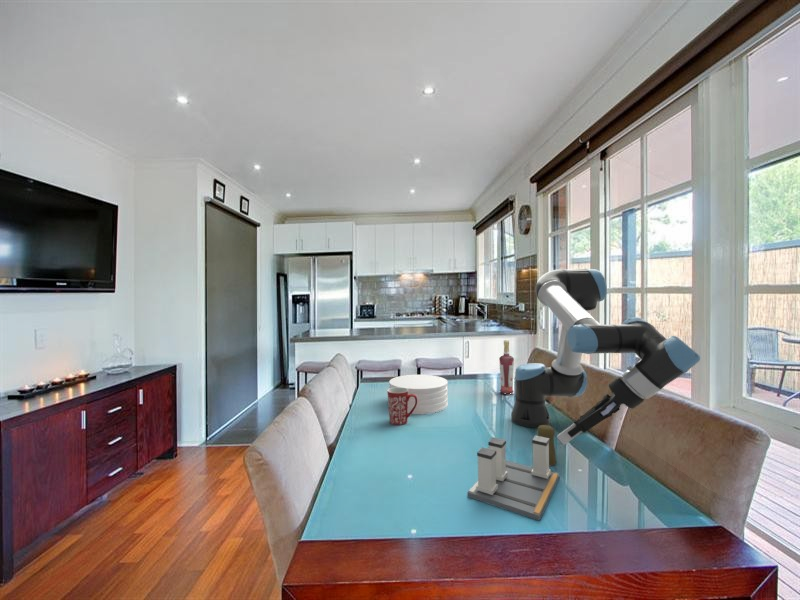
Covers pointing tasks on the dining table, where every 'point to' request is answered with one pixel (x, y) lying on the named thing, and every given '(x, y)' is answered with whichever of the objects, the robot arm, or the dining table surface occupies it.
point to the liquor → (506, 370)
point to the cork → (549, 433)
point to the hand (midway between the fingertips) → (561, 440)
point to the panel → (520, 491)
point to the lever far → (487, 471)
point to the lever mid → (499, 457)
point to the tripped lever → (541, 457)
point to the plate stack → (423, 392)
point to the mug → (399, 405)
